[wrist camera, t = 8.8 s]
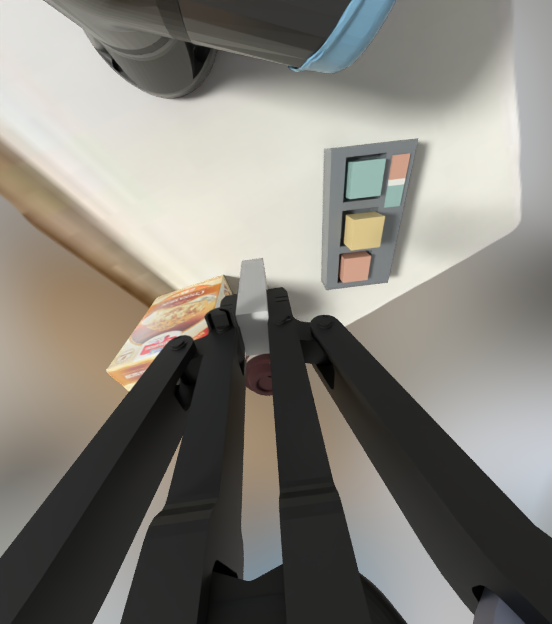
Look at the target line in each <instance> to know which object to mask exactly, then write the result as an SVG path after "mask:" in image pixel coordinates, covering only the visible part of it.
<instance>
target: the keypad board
mask: <svg viewBox="0 0 552 624" xmlns="http://www.w3.org/2000/svg"><path fill="white" fill-rule="evenodd" d="M417 142H418V139H408V140H399V141H390V142H381V143H373V144H364V145H356V146H347V147H338V148H330V149H324V178H323V223H322V269H321V281H322V283H323V285H324V287H325V289H326V290H331V289H339V288H347V287H355V286H363V285H371V284H380V283H388V279H389V275H390V270H391V265H392V260H393V256H394V251H395V246H396V241H397V237H398V232H399V227H400V222H401V218H402V213H403V208H404V204H405V199H406V194H407V189H408V185H409V180H410V175H411V170H412V166H413V161H414V156H415V151H416V147H417ZM371 158H386V162H385V169H384V175H383V182H382V188H381V195H380V196H373V197H364V198H356V199H348V198H346V197H344V196H343V194H344V180H345V165H346V161H354V160H363V159H371ZM373 211H375V212H377V213H379V214H381V215H384V216H385V220H384V226H383V232H382V237H381V243H380V247H376V248H368V249H359V250H350V249H349V248H348V247H347V246H346V245H345V244H344V234H345V222H346V215H348V214H356V213H365V212H373ZM358 251H366V252H367V253H368V254H369V255H371V260H370V267H369V274H368V280H362V281H354V282H346V283H343V282H342V281H341V280H340V278H339V277H338V268H339V254H342V253H350V252H358Z"/></svg>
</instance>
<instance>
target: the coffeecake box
mask: <svg viewBox="0 0 552 624" xmlns="http://www.w3.org/2000/svg"><path fill="white" fill-rule="evenodd" d="M228 295H233V294H232V292H231V290H230V288H229V286H228V283H227V281H226V279H225V277H224V275H221V276H218V277H215V278H212V279H209V280H206V281H203V282H200V283H197V284H194V285H191V286H188V287H186V288H183V289H180V290H177V291H174V292H171V293H168V294H165V295H162V296H159V297H157V298H156V300H155V301H154V302H153V304H152V305H151V307H150V308H149V310H148V311H147V313H146V314H145V316H144V317H143V318H142V320H141V321H140V323H139V324H138V326H137V327H136V329H135V330H134V331H133V333H132V334H131V336H130V337H129V339H128V340H127V341H126V343H125V344H124V346H123V347H122V349H121V350H120V351H119V353H118V354H117V356H116V357H115V359H114V360H113V361H112V363H111V364H110V366H109V367H108V368H107V369H106V371H107V372H108V373H109V374H110V375H111V376H112V377H113V378H114V379H115V380H117V381H118V382H119V383H120V384H121V385H123V386H124V387H125V388H126V389H127V390H128V391H130V390H131V389H132V387H133V386H134V385H135V384H136V382H137V381H138V380H139V378H140V377H141V376H142V375H143V373H144V372H145V371H146V369H147V368H148V367H149V365H150V364H151V363H152V362H153V360H154V359H155V358H156V356H157V355H158V354H159V353H160V351H161V350H162V349H163V347H164V346H165V345H166V344H167V343H168V342H169V341H170V340H172V339H173V338H175V337H178V336H181V335H188V336H191V337H192V338H193V340H196V339H199V338H202V337H204V336H206V335H208V333H209V329H208V326H207V323H206V320H205V318H204V317H205V315H206V313H208V312H209V311H210V310H213V309H215V308H219V307H220V303H221V300H222V299H223V298H224V297H225V296H228Z"/></svg>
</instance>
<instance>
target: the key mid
mask: <svg viewBox="0 0 552 624" xmlns="http://www.w3.org/2000/svg"><path fill="white" fill-rule="evenodd" d="M384 220H385V216H384V215H381V214H379V213H377V212H375V211H373V212H365V213H356V214H348V215H346V222H345V234H344V244H345V245H346V246H347V247H348V248H349V249H350V250H359V249H368V248H376V247H380V243H381V237H382V232H383V226H384Z"/></svg>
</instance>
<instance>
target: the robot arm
mask: <svg viewBox="0 0 552 624" xmlns="http://www.w3.org/2000/svg"><path fill="white" fill-rule="evenodd" d="M44 1H45V2H47V3H48V4H49V5H51V6H52V7H54V8H55V9H56V10H58V11H59V12H61V13H62V14H63V15H65V16H66V17H67V18H69V19H70V20H72V21H73V22H74V23H76V24H77V25H79V26H80V27H81V28H82V29H83V30H84V32H85V34H86V35H87V37H88V39H89V40H90V42H91V43H92V45H93V46H94V48H95V49H96V50H97V52H98V53H99V54H100V55H101V57H102V58H103V59H104V60H105V61H106V62H107V64H108V65H109V66H110V67H111V68H112V69H113V70H114V71H115V72H116V73H118V74H119V75H120V76H121V77H122V78H124V79H125V80H126V81H128V82H129V83H131V84H132V85H134V86H135V87H137V88H139V89H141V90H142V91H144V92H146V93H149V94H151V95H154V96H157V97H162V98H177V97H181V96H184V95H187V94H189V93H191V92H192V91H194V90H195V89H196V88H197V87H198V86H199V85H200V84H201V83H202V82H203V81H204V80H205V78H206V77H207V75H208V73H209V72H210V70H211V68H212V65H213V63H214V60H215V57H216V53H217V49H218V50H223V51H227V52H231V53H236V54H240V55H244V56H249V57H253V58H257V59H262V60H266V61H271V62H275V63H279V64H284V65H288V68H289V69H290V70H292V71H295V72H299V71H304V70H311V71H317V72H323V73H330V74H331V73H336V72H339V71H340V70H343V69H344V68H347V67H349V66H350V65H351V64H353V63H354V62H355V61H356V60H357V59H358V58H359V57H360V56H361V54H362V53H363V52H364V51H365V50H366V48H367V47H368V46H369V44H370V43H371V41H372V40H373V39H374V37H375V36H376V34H377V33H378V31H379V29H380V28H381V26H382V24H383V23H384V21H385V20H386V18H387V16H388V14H389V12H390V11H391V9H392V7H393V5H394V4H395V2H396V0H44ZM204 318H205V320H206V323H207V326H208V329H209V333H208V335H206V336H204V337H202V338H199V339H196V340H193V338H192V337H191V336H188V335H181V336H178V337H175V338H173V339H172V340H170V341H169V342H168V343H167V344H166V345H165V346H164V347H163V349H162V350H161V351H160V353H159V354H158V355H157V356H156V358H155V359H154V360H153V362H152V363H151V364H150V365H149V367H148V368H147V369H146V371H145V372H144V373H143V375H142V376H141V377H140V378H139V380H138V381H137V382H136V384H135V385H134V386H133V387H132V389H131V390H130V391H129V393H128V394H127V395H126V397H125V398H124V399H123V400H122V402H121V403H120V404H119V406H118V407H117V408H116V409H115V411H114V412H113V413H112V415H111V416H110V417H109V418H108V420H107V421H106V422H105V424H104V425H103V426H102V427H101V429H100V430H99V431H98V433H97V434H96V435H95V436H94V438H93V439H92V440H91V442H90V443H89V444H88V446H87V447H86V448H85V449H84V451H83V452H82V453H81V455H80V456H79V457H78V458H77V460H76V461H75V462H74V464H73V465H72V466H71V467H70V469H69V470H68V471H67V473H66V474H65V476H63V478H62V479H61V480H60V482H59V483H58V484H57V485H56V487H55V488H54V490H53V491H52V492H51V493H50V495H49V496H48V497H47V498H46V500H45V501H44V502H43V504H42V505H41V506H40V507H39V509H38V510H37V511H36V513H35V514H34V515H33V517H32V518H31V519H30V521H29V522H28V523H27V524H26V526H25V527H24V528H23V530H22V531H21V532H20V533H19V535H18V536H17V537H16V539H15V540H14V541H13V542H12V544H11V545H10V546H9V548H8V549H7V550H6V551H5V553H4V554H3V555H2V556H1V558H0V624H92V623H93V622H94V620H95V618H96V616H97V614H98V612H99V610H100V608H101V606H102V604H103V602H104V600H105V598H106V596H107V594H108V592H109V590H110V588H111V586H112V584H113V582H114V580H115V578H116V575H117V573H118V571H119V569H120V567H121V565H122V563H123V561H124V559H125V556H126V554H127V552H128V550H129V548H130V546H131V544H132V542H133V540H134V537H135V535H136V533H137V531H138V529H139V527H140V525H141V522H142V520H143V518H144V516H145V514H146V512H147V510H148V508H149V506H150V504H151V501H152V499H153V497H154V495H155V493H156V491H157V489H158V487H159V485H160V482H161V480H162V478H163V476H164V474H165V472H166V470H167V468H168V466H169V463H170V461H171V459H172V457H173V455H174V453H175V451H176V449H177V447H178V444H179V442H180V440H181V438H182V441H181V445H180V449H179V453H178V457H177V461H176V465H175V469H174V473H173V478H172V481H171V485H170V489H169V493H168V497H167V501H166V504H165V506H164V508H163V510H162V511H161V512H160V513H158V514H157V515H156V516H155V517H154V519H153V520H152V522H151V524H150V525H149V528H148V530H147V533H146V536H145V539H144V542H143V545H142V549H141V552H140V556H139V559H138V563H137V567H136V570H135V574H134V577H133V581H132V585H131V588H130V591H129V595H128V598H127V602H126V605H125V609H124V612H123V616H122V619H121V623H120V624H407V623H406V621H405V620H404V619H403V618H402V616H401V615H400V614H399V613H398V611H397V610H396V609H395V608H394V606H393V605H392V604H391V603H390V601H389V600H388V599H387V598H386V597H385V595H384V594H383V593H382V592H381V591H380V590H379V589H378V588H377V587H376V586H375V585H374V584H373V583H372V582H371V581H369V580H368V579H367V578H366V577H364V576H363V575H362V574H360V573H359V571H358V567H357V563H356V559H355V555H354V551H353V547H352V543H351V539H350V535H349V531H348V527H347V523H346V519H345V514H344V511H343V507H342V503H341V500H340V497H339V494H338V491H337V489H336V487H335V485H334V482H333V478H332V474H331V470H330V466H329V461H328V457H327V453H326V449H325V445H324V441H323V436H322V432H321V428H320V424H319V420H318V415H317V411H316V407H315V403H314V398H313V395H312V391H311V386H310V382H309V378H308V374H307V369H306V365H305V363H310V364H312V365H313V367H314V369H315V371H316V372H317V374H318V375H319V377H320V379H321V381H322V382H323V384H324V385H325V387H326V389H327V390H328V392H329V394H330V395H331V397H332V398H333V400H334V402H335V403H336V405H337V406H338V408H339V410H340V412H341V413H342V415H343V416H344V418H345V420H346V421H347V423H348V424H349V426H350V428H351V429H352V431H353V433H354V434H355V436H356V437H357V439H358V441H359V442H360V444H361V445H362V447H363V449H364V451H365V452H366V454H367V455H368V457H369V459H370V460H371V462H372V464H373V465H374V467H375V468H376V470H377V472H378V473H379V475H380V477H381V478H382V480H383V481H384V483H385V485H386V486H387V488H388V490H389V491H390V493H391V494H392V496H393V498H394V499H395V501H396V503H397V504H398V506H399V508H400V509H401V511H402V512H403V514H404V516H405V517H406V519H407V521H408V522H409V524H410V525H411V527H412V529H413V530H414V532H415V533H416V535H417V537H418V538H419V540H420V542H421V543H422V545H423V547H424V548H425V550H426V551H427V553H428V554H429V555H430V557H431V559H432V560H433V562H434V563H435V565H436V566H437V568H438V569H439V571H440V572H441V574H442V575H443V576H444V578H445V579H446V580H447V582H448V583H449V584H450V586H451V587H452V588H453V590H454V591H455V592H456V593H457V595H458V596H459V597H460V599H461V600H462V601H463V603H464V604H465V605H466V606H467V607H468V608H469V610H470V611H471V612H472V613H473V614H474V621H473V624H552V538H551V537H550V536H548V535H547V534H546V533H544V532H543V531H542V530H540V529H539V528H538V527H536V526H535V525H534V524H533V523H532V522H531V521H530V520H529V519H528V518H527V517H526V515H525V514H524V513H523V512H522V511H521V510H520V509H519V508H518V507H517V506H516V505H515V504H514V503H513V502H512V501H511V500H510V499H509V498H508V497H507V496H506V495H505V494H504V493H503V491H501V489H500V488H499V487H498V486H497V485H496V484H495V483H494V482H493V481H492V480H491V479H490V478H489V477H488V476H487V475H486V474H485V473H484V472H483V471H482V470H481V469H480V468H479V466H477V464H476V463H475V462H474V461H473V460H472V459H470V457H469V456H468V455H467V454H466V453H465V452H464V451H463V450H462V449H461V448H460V447H459V446H458V445H457V443H456V442H454V440H453V439H452V438H451V437H450V436H449V435H448V434H447V433H446V432H445V431H444V430H443V429H442V428H441V427H440V426H439V425H438V424H437V423H436V422H435V421H434V420H433V418H432V417H431V416H429V414H428V413H427V412H426V411H425V410H424V409H423V408H422V407H421V406H420V405H419V404H418V403H417V402H416V401H415V400H414V399H413V398H412V397H411V395H410V394H409V393H408V392H406V390H405V389H404V388H403V387H402V386H401V385H400V384H399V383H398V382H397V381H396V380H395V379H394V378H393V377H392V376H391V375H390V374H389V373H388V371H386V369H385V368H384V367H383V366H382V365H381V364H380V363H379V362H378V361H377V360H376V359H375V358H374V357H373V356H372V355H371V354H370V353H369V352H368V351H367V350H366V349H365V347H364V346H363V345H362V344H361V343H360V342H358V340H357V339H356V338H355V337H354V336H353V335H352V334H351V333H350V332H349V331H348V330H347V329H346V328H345V327H344V326H343V325H342V323H341V322H340V321H339V320H338V319H336V318H335V317H333V316H330V315H320V316H317V317H315V318H313V319H312V320H311V323H309V322H301V321H298V320H297V319H295V318H294V317H293V315H292V312H291V307H290V303H289V299H288V295H287V291H286V290H285V289H284V288H283V287H281V288H273V289H268V288H267V281H266V275H265V268H264V262H263V258H259V259H252V260H245V261H242V263H241V272H240V281H239V289H238V294H235V295H228V296H225V297H224V298H223V299H222V300H221V303H220V307H219V308H215V309H213V310H210V311H209V312H208V313H206V315H205V317H204ZM245 352H246V356H250V355H257V354H265V353H270V364H271V377H272V391H273V405H274V418H275V431H276V445H277V459H278V472H279V486H280V496H279V512H280V529H281V544H282V557H283V564H282V565H280V566H278V567H276V568H274V569H273V570H271V571H269V572H267V573H265V574H264V575H262V576H260V577H258V578H256V579H254V580H252V581H245V580H243V566H244V557H243V556H244V553H243V552H244V551H243V540H242V534H241V509H242V480H243V476H242V475H243V449H244V421H245V419H244V418H245V390H246V360H245ZM182 436H183V437H182Z"/></svg>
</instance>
